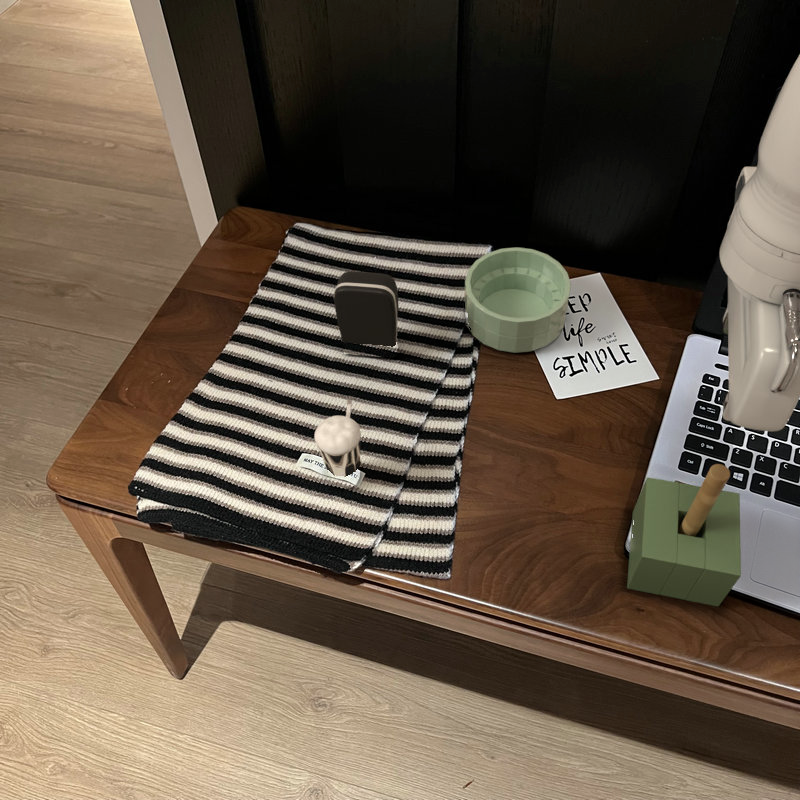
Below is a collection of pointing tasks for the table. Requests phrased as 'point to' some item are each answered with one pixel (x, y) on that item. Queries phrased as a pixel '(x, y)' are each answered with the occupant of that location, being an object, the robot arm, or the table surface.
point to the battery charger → (367, 308)
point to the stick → (704, 500)
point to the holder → (684, 544)
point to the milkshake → (339, 443)
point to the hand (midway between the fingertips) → (732, 370)
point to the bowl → (516, 299)
